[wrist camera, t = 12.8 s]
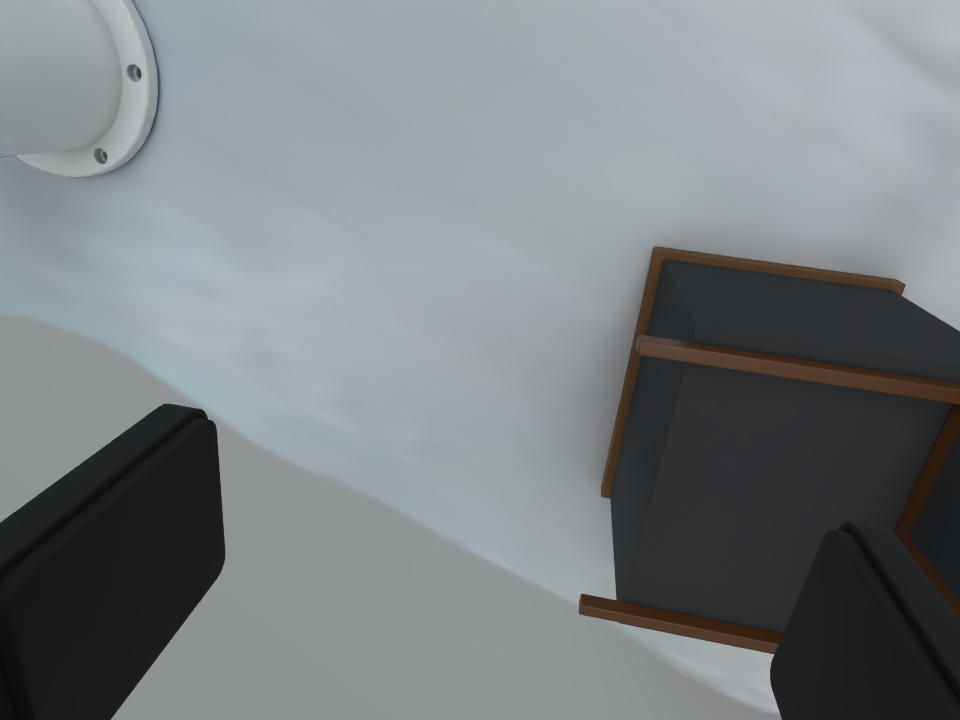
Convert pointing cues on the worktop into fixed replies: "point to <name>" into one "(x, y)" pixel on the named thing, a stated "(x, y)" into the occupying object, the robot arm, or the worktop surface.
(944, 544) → the brown angular bar frame
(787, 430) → the wood-trimmed dark box
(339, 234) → the worktop surface
